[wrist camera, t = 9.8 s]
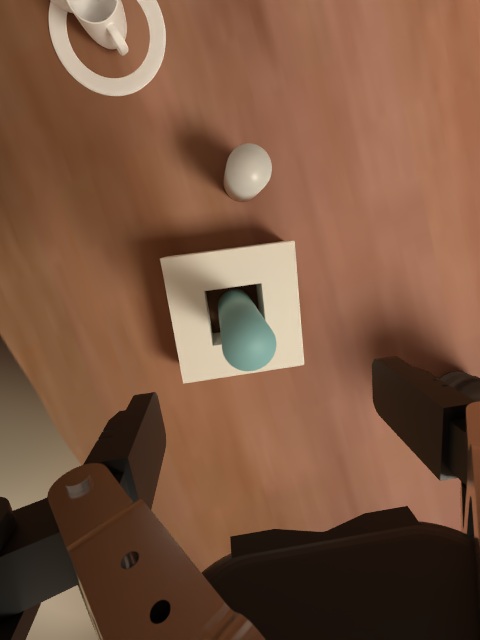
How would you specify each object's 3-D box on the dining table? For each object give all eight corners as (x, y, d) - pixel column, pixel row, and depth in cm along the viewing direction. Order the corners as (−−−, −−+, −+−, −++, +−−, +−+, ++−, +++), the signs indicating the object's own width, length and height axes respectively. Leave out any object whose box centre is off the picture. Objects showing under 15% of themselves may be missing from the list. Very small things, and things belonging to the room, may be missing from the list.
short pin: (220, 164, 25) (223, 146, 20) (258, 160, 25) (269, 141, 20) (226, 204, 26) (229, 195, 21) (262, 199, 26) (273, 190, 21)
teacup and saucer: (30, -36, 21) (-11, -99, 17) (145, -58, 22) (131, -125, 18) (74, 108, 24) (47, 81, 20) (178, 87, 24) (172, 56, 20)
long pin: (215, 291, 27) (218, 323, 17) (249, 286, 28) (273, 315, 17) (220, 324, 28) (225, 375, 17) (253, 319, 28) (278, 367, 18)
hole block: (166, 256, 26) (160, 258, 23) (283, 240, 27) (294, 240, 23) (186, 366, 29) (183, 383, 25) (293, 350, 29) (304, 364, 26)
